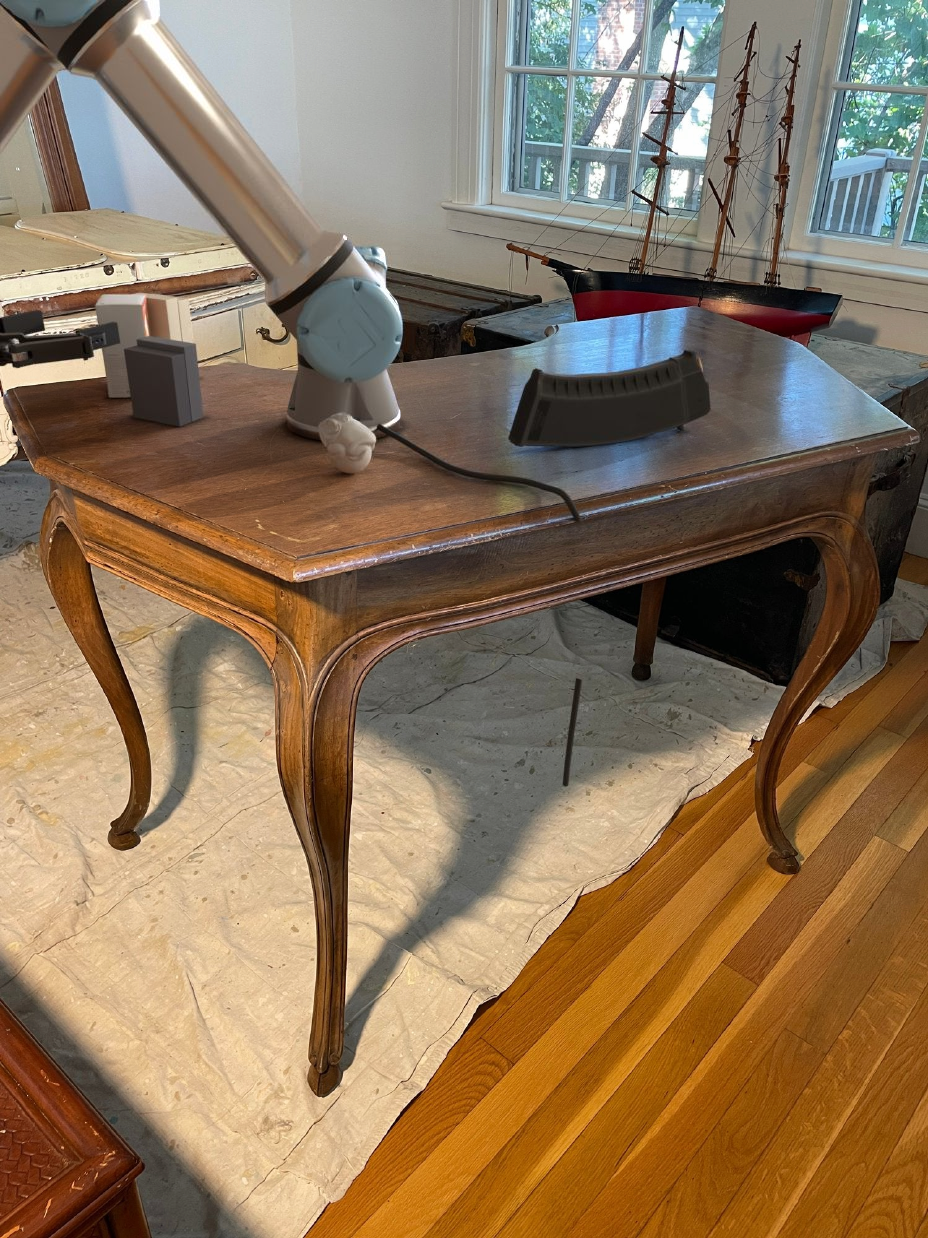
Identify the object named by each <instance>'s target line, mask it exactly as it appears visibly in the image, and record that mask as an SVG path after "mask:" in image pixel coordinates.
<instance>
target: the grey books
mask: <svg viewBox="0 0 928 1238" xmlns="http://www.w3.org/2000/svg"><path fill="white" fill-rule="evenodd" d="M136 340H137V346H133V347H129V348H126V349H124V355H125V361H126V368H127V375H128V382H129V389H130V396H131V397H130V402H131V403H130V404H131V409H132V415H133V418H136V419H140V420H145V421H150V422H155V423H158V424H159V423H160V424H164V425H170V426H174V427H183V426H185V425H189V424H190V423H194V422H196V421H198V420H202V419H203V418H205V417H204V408H203V407H204V406H203V399H202V389H201V381H200V379H201V378H200V371H199V370H200V369H199V361H198V352H197V351H198V350H197V343H195V342H193V343H189V342H183V341H177V340H171V339H165V338H159V337H153V336H147V337H143V338H139V339H136Z"/></svg>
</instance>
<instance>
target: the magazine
mask: <svg viewBox="0 0 928 1238" xmlns="http://www.w3.org/2000/svg"><path fill="white" fill-rule="evenodd" d="M711 409H712V406H711V393H710V383H709V382H708V381H707V380H706V378H705V374H704V370H703V365H702V361H701V358H700V356H697V353H696V351H695V350H692V349H690V348H686V349H684V350H683V352H682V353H681V354H679V355H676V356H670V357H668V358H667V359H664V360H660V361H657V362H654V363H650V364H648V365H643V366H640V367H634V368H630V369H629V368H628V369H624V370H617V371H610V372H597V373H596V372H595V373H594V372H593V373H578V374H577V373H576V374H569V373H568V374H565V373H553V372H547V371H543V370H542V369H541V368H538V367H535V368H533V369H532V371H531V374H530V376H529V379H528V380H527V382H526V383H525V384H524V387H523V390H522V393H521V396H520V399H519V402H518V405H517V409H516V411H515V415H514V418H513V421H512V424H511V428H510V430H509V434H508V437H507V438H508V441H509V442H510V443H511V444H512V445H514V446H516V447H520V448H523V447H557V448H558V447H559V448H561V447H562V448H573V447H574V448H577V447H578V448H579V447H597V446H604V445H606V446H607V445H613V444H620V443H625V442H631V441H635V440H638V439H639V440H640V439H644V438H647V437H651V436H653V435H657V434H659V433H663V432H667V431H669V430H673V429H677V430H678V431H681V432H684V431H685V427H684V426H685V425H686V424H689V423H691V422H693V421H696V420H698V419H700V418H702V417H704V416H707V415H709V413H710V412H711Z"/></svg>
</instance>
